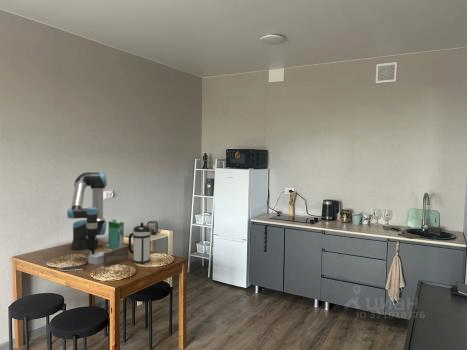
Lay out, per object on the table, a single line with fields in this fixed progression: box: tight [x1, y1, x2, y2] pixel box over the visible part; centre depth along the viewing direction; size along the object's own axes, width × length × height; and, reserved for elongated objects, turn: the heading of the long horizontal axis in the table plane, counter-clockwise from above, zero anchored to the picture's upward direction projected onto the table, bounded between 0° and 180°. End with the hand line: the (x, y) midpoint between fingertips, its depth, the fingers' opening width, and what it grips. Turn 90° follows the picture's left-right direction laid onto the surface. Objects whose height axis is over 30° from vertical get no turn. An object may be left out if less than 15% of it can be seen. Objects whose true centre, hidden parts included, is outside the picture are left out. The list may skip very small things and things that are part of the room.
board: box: [102, 245, 129, 267], centre depth 262 cm, size 4×22×10 cm, turn 156°
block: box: [87, 251, 103, 266], centre depth 261 cm, size 8×10×6 cm
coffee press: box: [128, 222, 152, 264], centre depth 265 cm, size 17×16×30 cm
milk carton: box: [107, 219, 125, 249], centre depth 295 cm, size 9×9×25 cm
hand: (91, 258), depth 264 cm, fingers closed
